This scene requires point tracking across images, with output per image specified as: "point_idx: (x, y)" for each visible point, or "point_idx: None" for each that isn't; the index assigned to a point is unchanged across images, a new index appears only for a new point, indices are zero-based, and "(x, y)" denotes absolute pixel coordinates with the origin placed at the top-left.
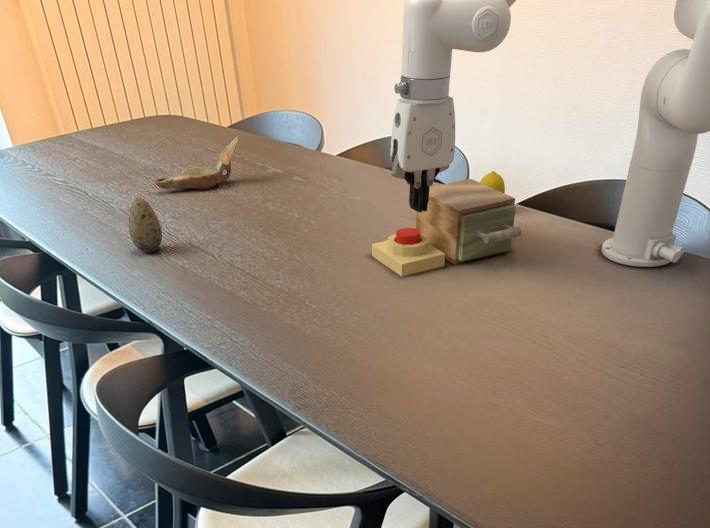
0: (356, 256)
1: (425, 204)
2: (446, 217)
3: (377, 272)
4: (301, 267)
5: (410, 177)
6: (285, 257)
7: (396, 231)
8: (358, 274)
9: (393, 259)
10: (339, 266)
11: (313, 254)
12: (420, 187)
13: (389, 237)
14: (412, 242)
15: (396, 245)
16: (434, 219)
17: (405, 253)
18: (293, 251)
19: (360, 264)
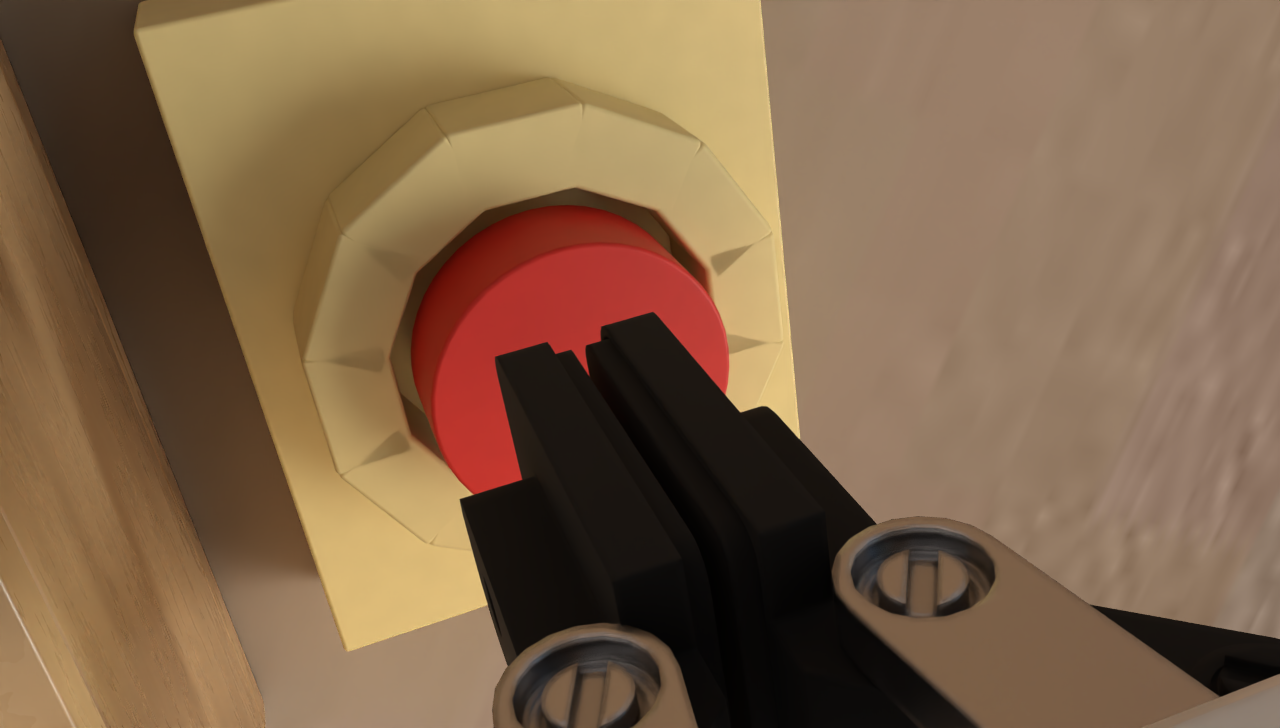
0: (867, 462)
1: (568, 384)
2: (27, 463)
3: (853, 84)
4: (1273, 351)
5: (1208, 680)
6: (1270, 535)
7: None
8: (1007, 95)
9: (765, 90)
10: (1059, 301)
11: (1109, 553)
12: (797, 584)
13: None
14: (564, 218)
15: (748, 212)
16: (152, 646)
17: (649, 111)
18: (1187, 620)
19: (906, 298)
